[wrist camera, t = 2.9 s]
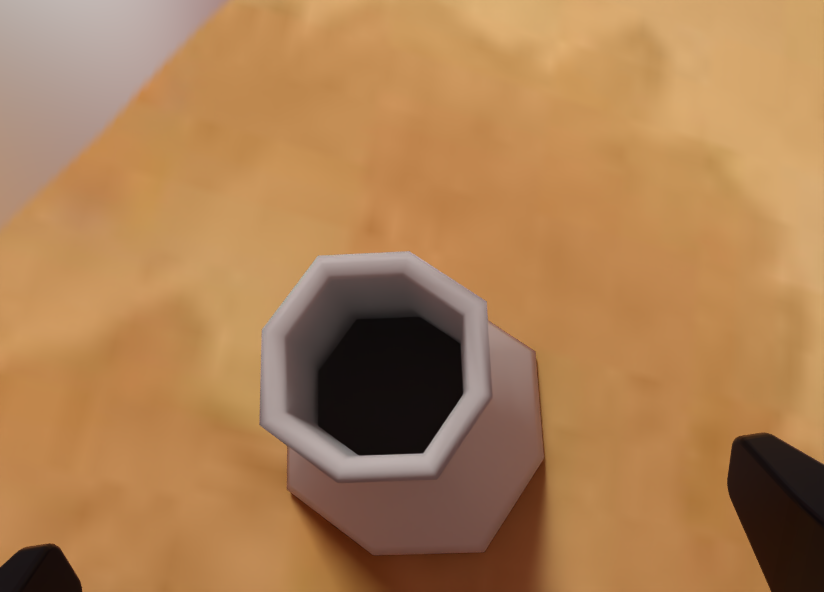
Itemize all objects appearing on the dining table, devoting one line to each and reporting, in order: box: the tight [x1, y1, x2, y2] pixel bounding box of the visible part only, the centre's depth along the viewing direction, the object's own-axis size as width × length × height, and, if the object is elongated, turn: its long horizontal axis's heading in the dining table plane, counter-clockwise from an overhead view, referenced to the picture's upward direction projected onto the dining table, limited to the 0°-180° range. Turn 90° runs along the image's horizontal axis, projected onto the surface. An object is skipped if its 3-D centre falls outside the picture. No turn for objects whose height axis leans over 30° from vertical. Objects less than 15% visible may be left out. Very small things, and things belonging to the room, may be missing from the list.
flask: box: [260, 251, 544, 555], centre depth 14 cm, size 7×7×10 cm
